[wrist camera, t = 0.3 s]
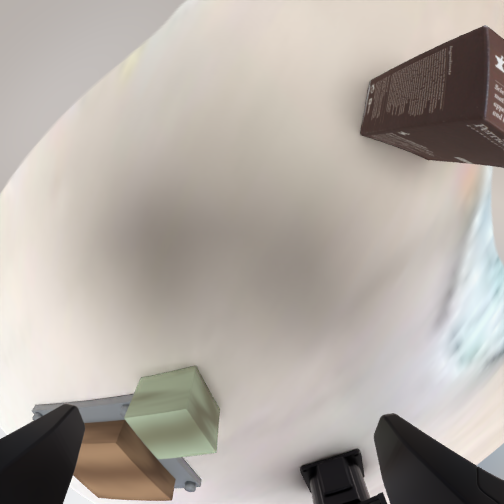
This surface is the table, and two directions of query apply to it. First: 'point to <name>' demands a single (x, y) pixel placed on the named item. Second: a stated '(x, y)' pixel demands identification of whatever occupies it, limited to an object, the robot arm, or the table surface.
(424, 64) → the box
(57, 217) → the table surface
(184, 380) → the block
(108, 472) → the base brick
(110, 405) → the baseplate
